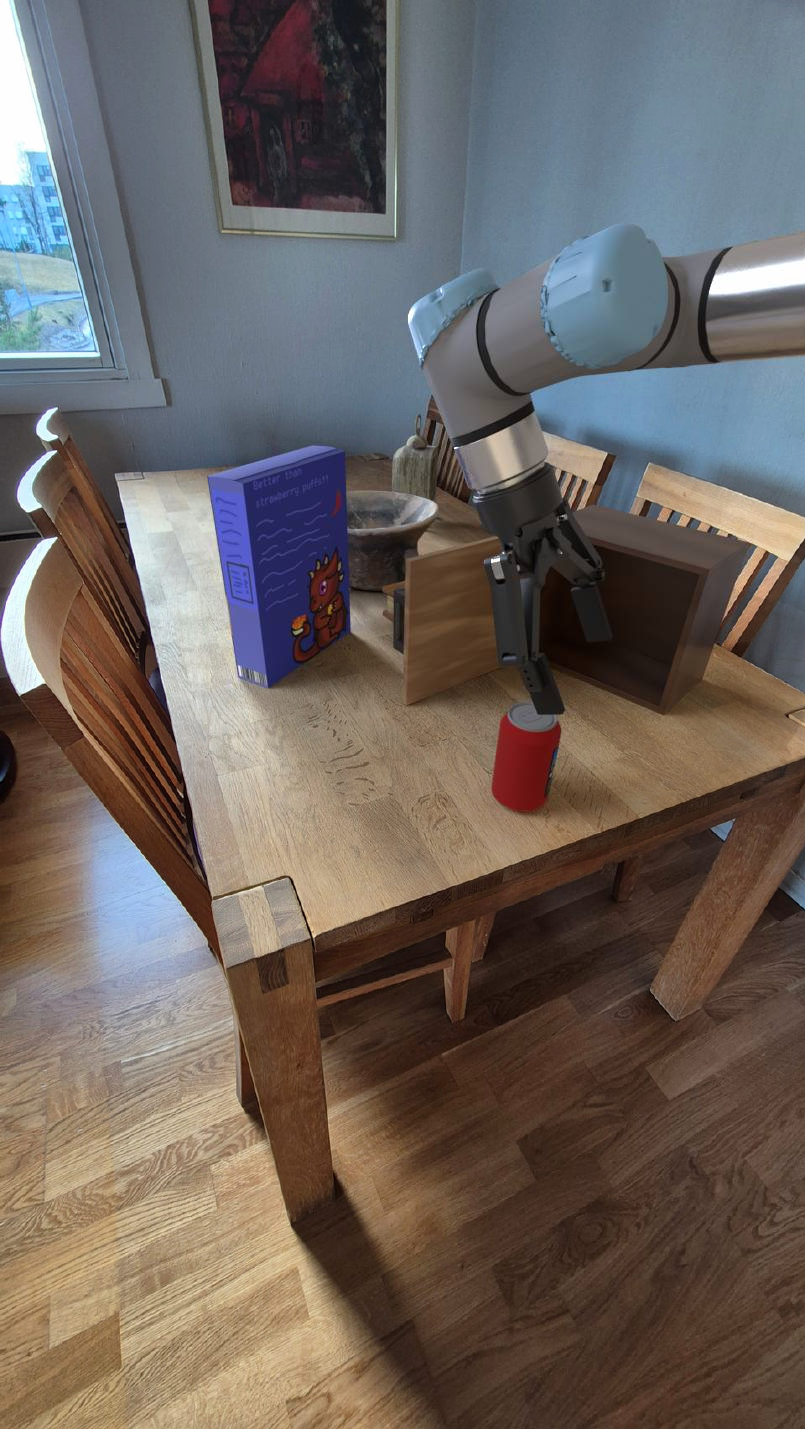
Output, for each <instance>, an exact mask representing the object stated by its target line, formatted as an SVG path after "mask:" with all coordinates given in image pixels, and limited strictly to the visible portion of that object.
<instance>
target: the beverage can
mask: <svg viewBox="0 0 805 1429" xmlns="http://www.w3.org/2000/svg"><path fill="white" fill-rule="evenodd" d="M558 717H559V716H558V715H538V714H537V712H536V709H535V707H534V704H533V702H532V700H523V701H522V700H521V701H518V702H516V703H513V704H512V705H510V707H509V708H508V710H507V712H506V713H505V714H504V715H503V716H502V718H501V719H500V722H499V727H498V728H499V729H498V734H497V744H496V749H495V757H494V765H493V773H492V781H491V794H492V795H493V797H494V799H495V800H496V801H497V802H498V803H499V804H501V805H502V806H504V807H506V808H507V809H510V810H512V811H513V810H514V811H517V812H531V811H535V810H538V809H540V808H542V807H543V806H544V805H545V804H546V803H547V801H548V799H549V795H550V794H549V793H550V790H551V785H552V781H553V777H554V772H555V767H556V763H557V757H558V752H559V747H560V741H561V737H562V726H561V724H560V721H559V720H558Z"/></svg>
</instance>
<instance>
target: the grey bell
mask: <svg viewBox="0 0 805 1429" xmlns="http://www.w3.org/2000/svg"><path fill="white" fill-rule="evenodd" d="M421 429H422V415H421V413H417V414H416V416H415V421H414V434H415V435H411V436H410V437H409V438H408V439H407V442H406V444H405V445H404V446H401V447H400V448H398V449H397V450H396V451H395V453H394V455H393V457H392V467H391V468H392V470H391V471H392V472H391V492H397V493H404V494H411V495H415V496H419V497H422V498H426V499H429V500H431V501H433V502H434V503H435V502H436V496H437V482H438V464H439V463H438V460H439V447H438V446H437V445H429V443H428V440H427V439H426V437H425V436H424V435H421Z"/></svg>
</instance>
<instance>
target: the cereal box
mask: <svg viewBox="0 0 805 1429" xmlns="http://www.w3.org/2000/svg"><path fill="white" fill-rule="evenodd" d="M346 465H347V464H346V451H345V450H343V449H339V448H337V447H333V446H328V445H327V446H325V445H310V446H305V447H302V448H299V449H296V450H292V451H288V452H285V453H281V454H278V455H274V456H272V457H268V458H265V459H261V460H258V461H254V462H251V463H247V464H244V465H241V466H237V467H234V468H230V469H226V470H223V471H220V472H216V473H212V474H209V475H207V477H206V478H207V485H208V490H209V497H210V503H211V511H212V517H213V518H212V519H213V525H214V529H215V530H214V531H215V538H216V543H217V550H218V556H219V562H220V569H221V577H222V582H223V589H224V595H225V602H226V607H227V614H228V620H229V629H230V634H231V640H232V647H233V654H234V660H235V666H236V673H237V678H239V679H241V680H244V681H247V682H249V683H252V684H255V685H258V686H261V687H264V688H266V689H269V688H271V687H273V686H274V685H275V684H277V683H278V682H280V681H281V680H283V679H284V678H286V677H287V676H288V675H290V674H291V673H293V672H294V671H295V670H298V669H299V668H300V667H301V666H304V664H306V663H307V662H309V661H311V660H312V659H313V658H315V657H316V656H318V655H319V654H320V653H322V652H323V651H325V650H326V649H328V648H329V647H331V646H333V645H334V644H335V643H336V642H338V641H340V640H341V639H343V638H344V637H345V636H347V635H348V634H350V633H351V632H352V625H351V624H352V623H351V621H352V620H351V596H350V595H351V593H350V592H351V591H350V587H349V558H348V527H347V495H346V492H347V471H346V470H347V468H346V467H347V466H346Z"/></svg>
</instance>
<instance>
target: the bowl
mask: <svg viewBox="0 0 805 1429" xmlns="http://www.w3.org/2000/svg"><path fill="white" fill-rule="evenodd" d="M346 495H347V527H348V558H349V588H354V589H356V590H364V591H371V592H372V591H373V592H374V591H375V592H377V591H378V592H381V591H383V587H384V586H387V585H391V584H395V583H399V582H403V581H405V579H406V559H408V558H412V557H416V556H420V554H419V549H418V544H419V540H420V539H421V538H422V537H423V535H424V534H425V532H427V530H428V529H429V528H430V527H431V526H432V525H433V524H434V523H435V521H436V520H437V519H438V518H439V515H440V513H441V507H440V505H439V504H438V503H434V502H433V501H431V500H429V499H426V498H422V497H419V496H415V495H411V494H404V493H397V492H392V491H388V490H387V491H386V490H385V491H383V490H350V491H346Z"/></svg>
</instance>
